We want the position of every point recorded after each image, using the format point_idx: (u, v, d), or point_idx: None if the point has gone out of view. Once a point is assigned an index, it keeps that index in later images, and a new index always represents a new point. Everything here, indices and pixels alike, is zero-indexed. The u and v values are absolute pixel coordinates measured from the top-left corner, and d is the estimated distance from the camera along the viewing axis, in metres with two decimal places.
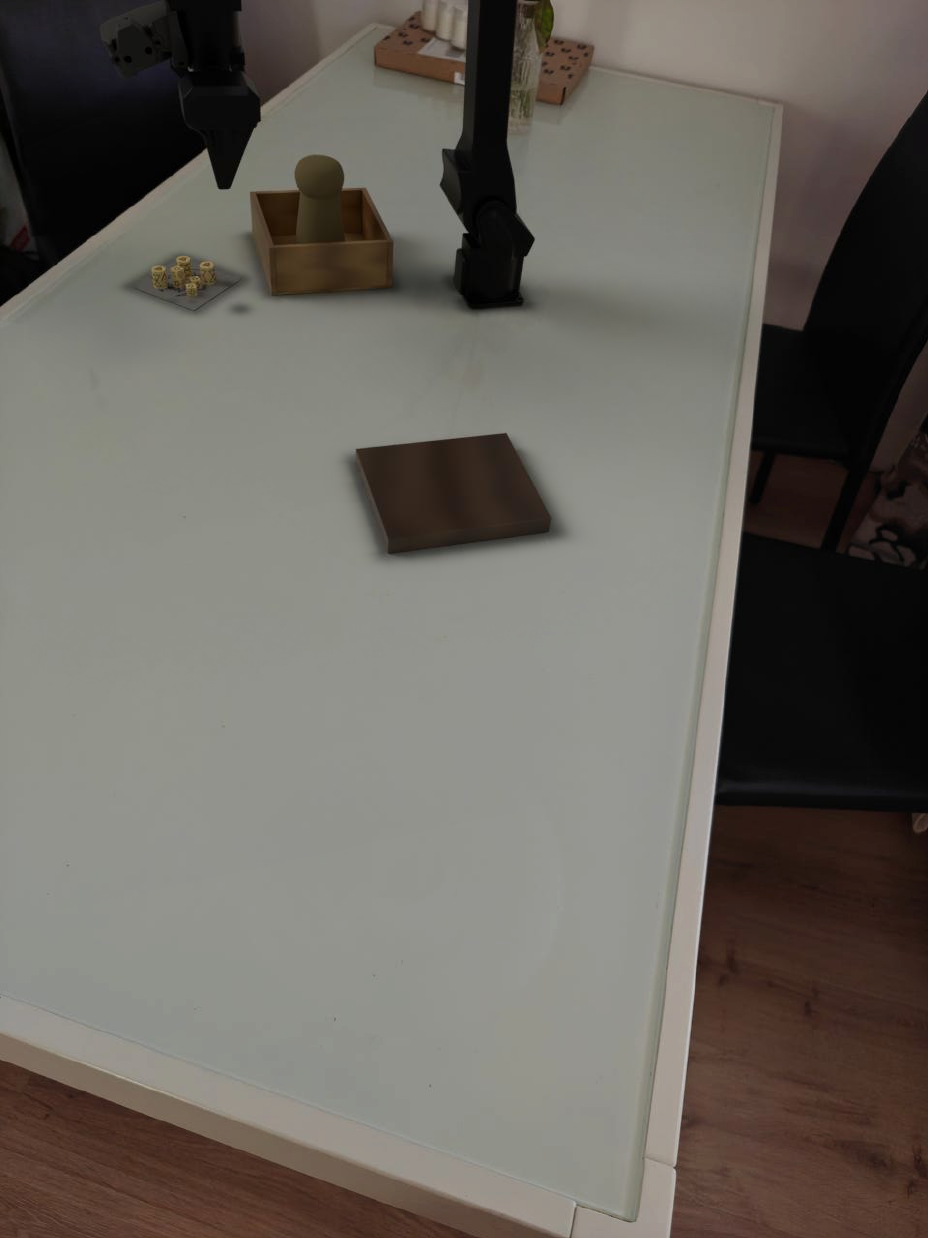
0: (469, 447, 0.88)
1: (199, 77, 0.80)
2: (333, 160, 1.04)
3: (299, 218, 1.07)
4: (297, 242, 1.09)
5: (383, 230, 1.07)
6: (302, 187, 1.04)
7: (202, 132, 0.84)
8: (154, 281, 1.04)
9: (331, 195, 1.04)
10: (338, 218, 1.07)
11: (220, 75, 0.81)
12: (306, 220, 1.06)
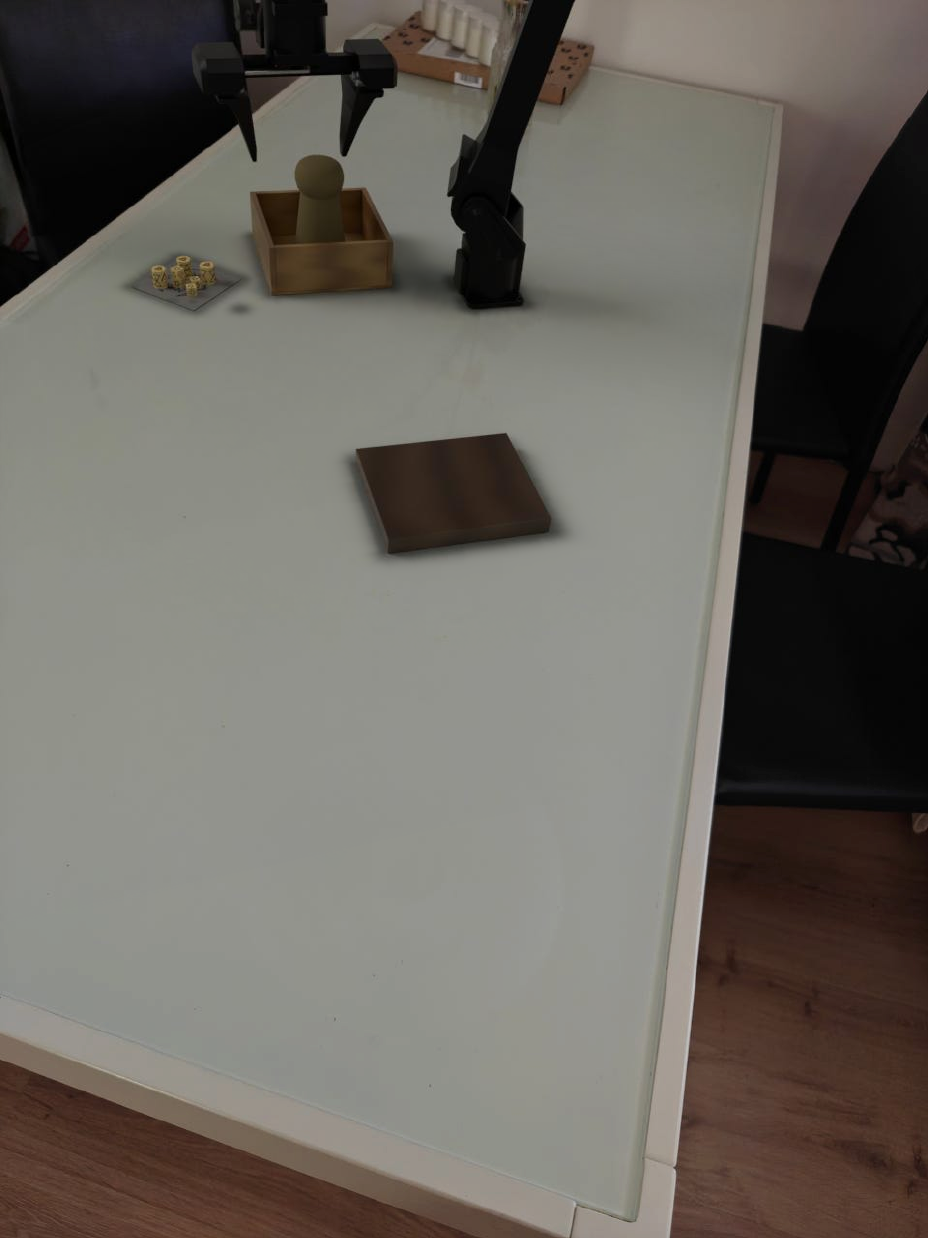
0: (469, 447, 0.88)
1: (219, 44, 0.92)
2: (333, 160, 1.04)
3: (299, 218, 1.07)
4: (297, 242, 1.09)
5: (383, 230, 1.07)
6: (302, 187, 1.04)
7: None
8: (154, 281, 1.04)
9: (330, 195, 1.04)
10: (338, 218, 1.07)
11: (227, 51, 0.91)
12: (306, 220, 1.06)
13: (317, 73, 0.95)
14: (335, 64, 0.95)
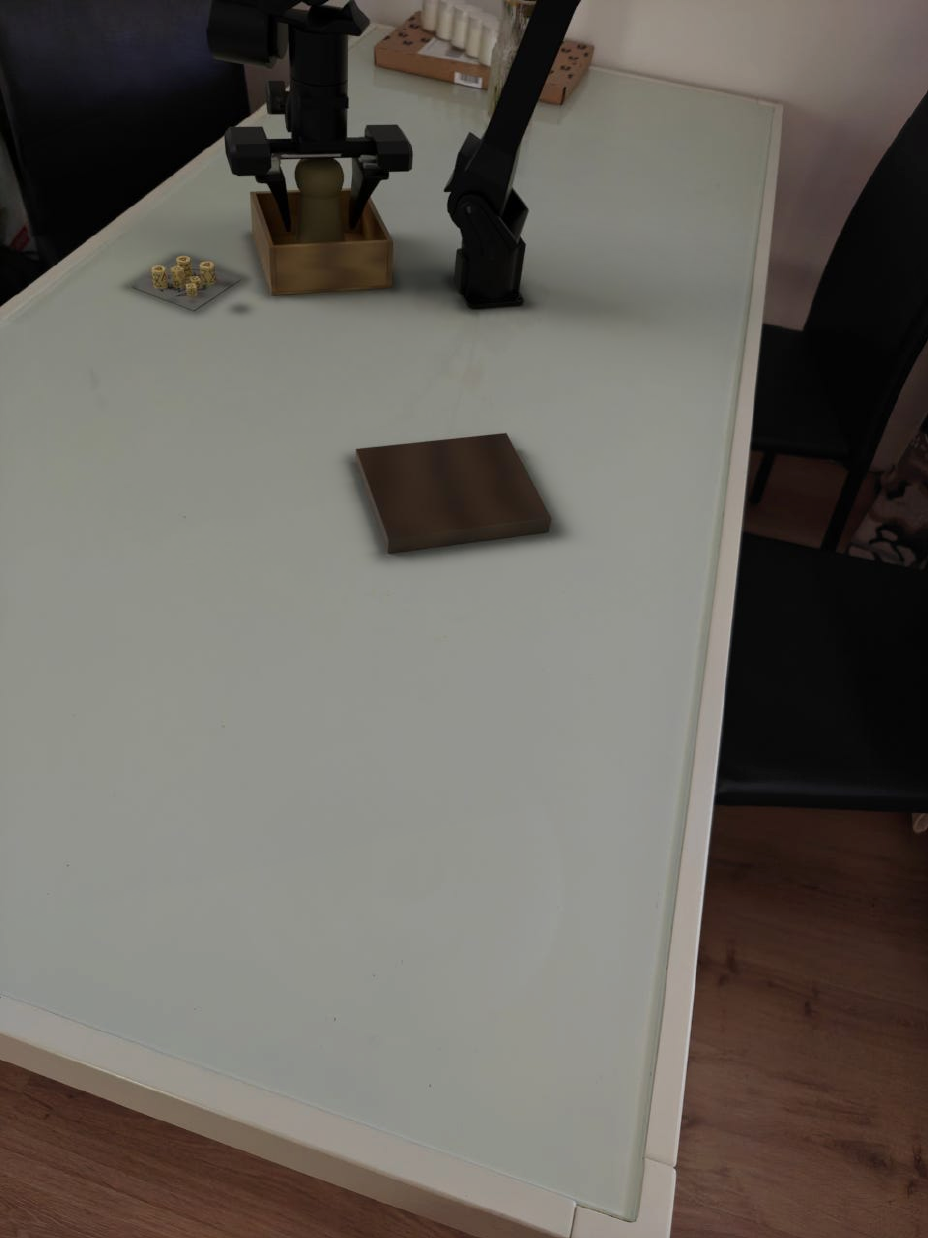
0: (469, 447, 0.88)
1: (249, 129, 1.01)
2: (333, 160, 1.04)
3: (299, 218, 1.07)
4: (297, 242, 1.09)
5: (383, 230, 1.07)
6: (302, 187, 1.04)
7: None
8: (154, 281, 1.04)
9: (330, 195, 1.04)
10: (338, 218, 1.07)
11: (256, 136, 1.00)
12: (306, 220, 1.06)
13: None
14: (355, 148, 1.03)
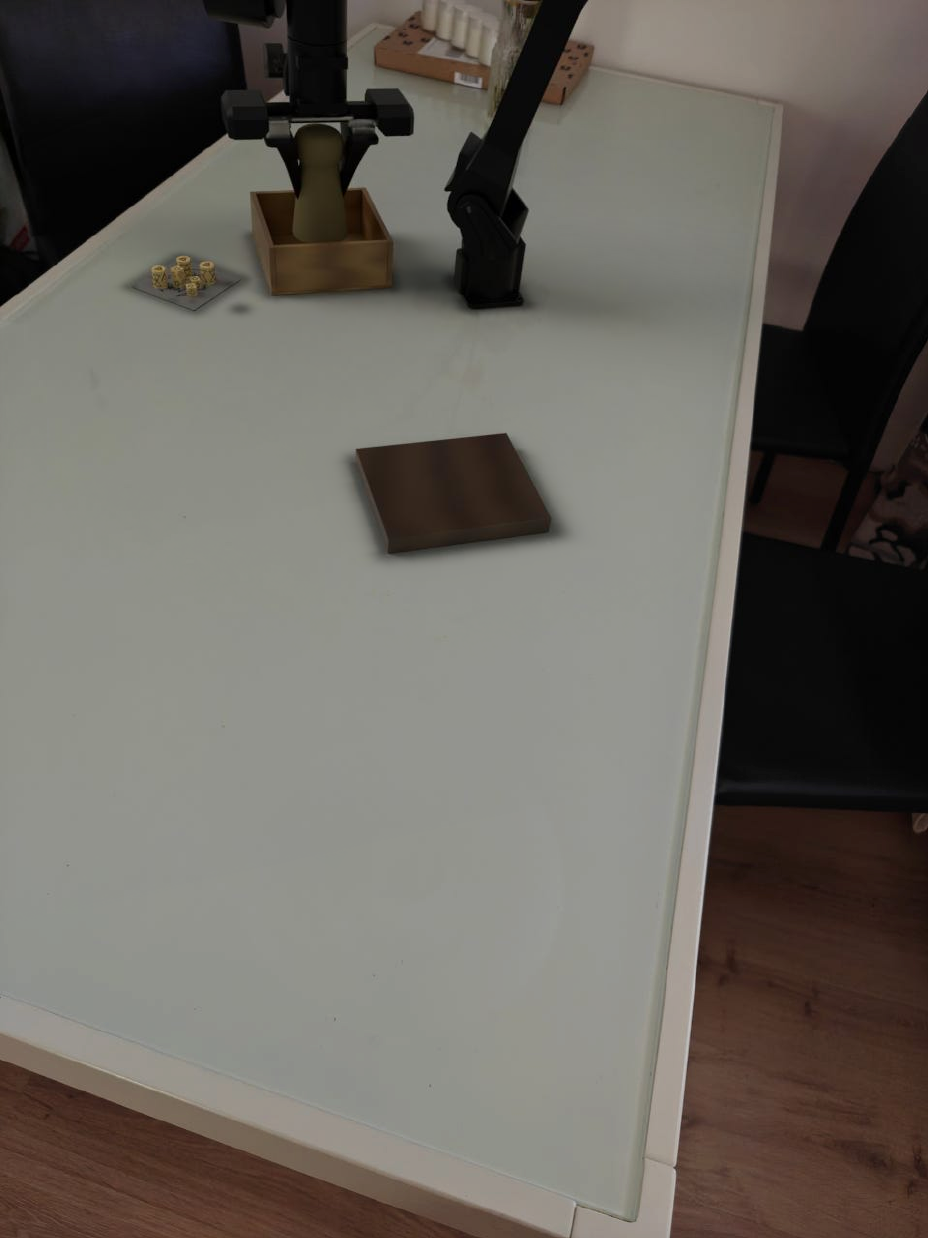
0: (469, 447, 0.88)
1: (246, 92, 0.98)
2: (333, 128, 1.02)
3: None
4: (296, 214, 1.06)
5: (383, 230, 1.07)
6: (301, 156, 1.01)
7: None
8: (154, 281, 1.04)
9: (330, 165, 1.02)
10: (338, 189, 1.05)
11: (253, 99, 0.97)
12: (305, 191, 1.04)
13: (338, 120, 1.01)
14: (355, 112, 1.01)
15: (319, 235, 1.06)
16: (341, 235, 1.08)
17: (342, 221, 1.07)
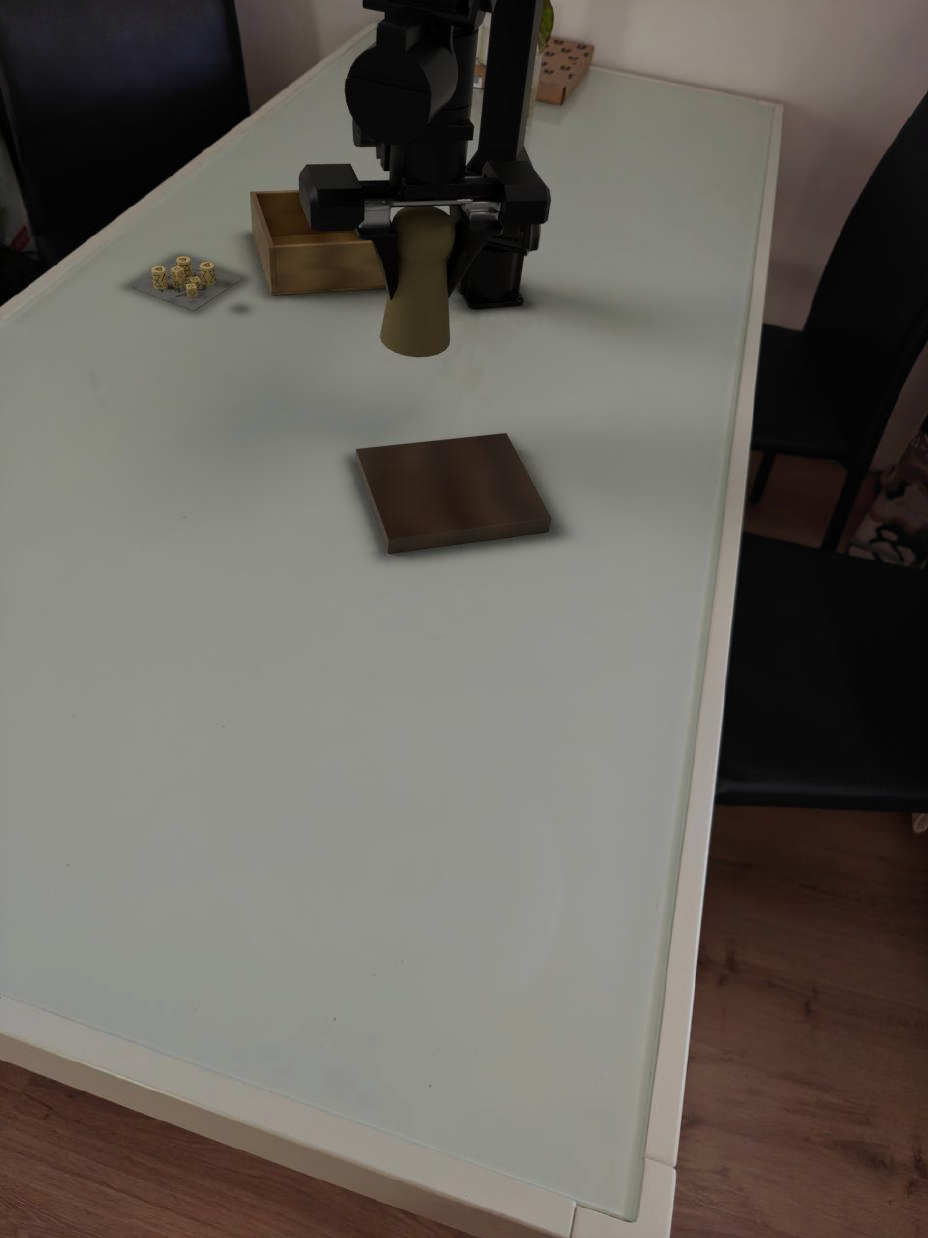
0: (469, 447, 0.88)
1: (333, 167, 0.74)
2: (442, 212, 0.78)
3: None
4: (387, 318, 0.82)
5: None
6: (400, 249, 0.77)
7: None
8: (154, 281, 1.04)
9: (438, 259, 0.78)
10: (444, 288, 0.81)
11: (343, 177, 0.73)
12: (403, 291, 0.80)
13: None
14: (474, 193, 0.77)
15: (417, 345, 0.82)
16: (443, 344, 0.84)
17: (446, 327, 0.83)
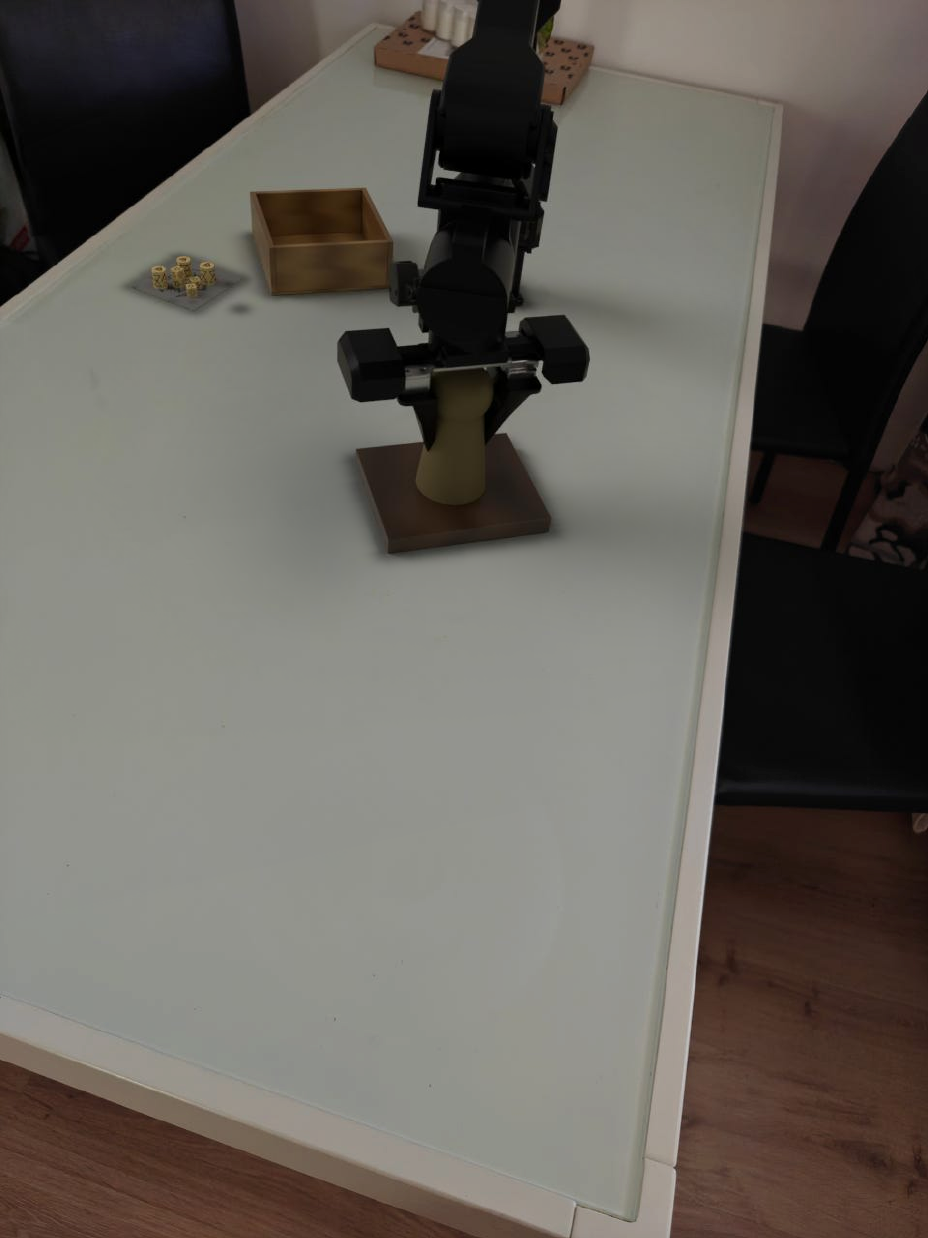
0: None
1: (373, 334, 0.74)
2: (480, 370, 0.77)
3: None
4: (424, 467, 0.82)
5: (383, 230, 1.07)
6: (439, 408, 0.77)
7: None
8: (154, 281, 1.04)
9: (476, 416, 0.78)
10: (482, 439, 0.80)
11: (384, 346, 0.73)
12: (441, 445, 0.79)
13: None
14: (512, 352, 0.76)
15: (454, 494, 0.82)
16: (480, 490, 0.83)
17: (483, 474, 0.83)
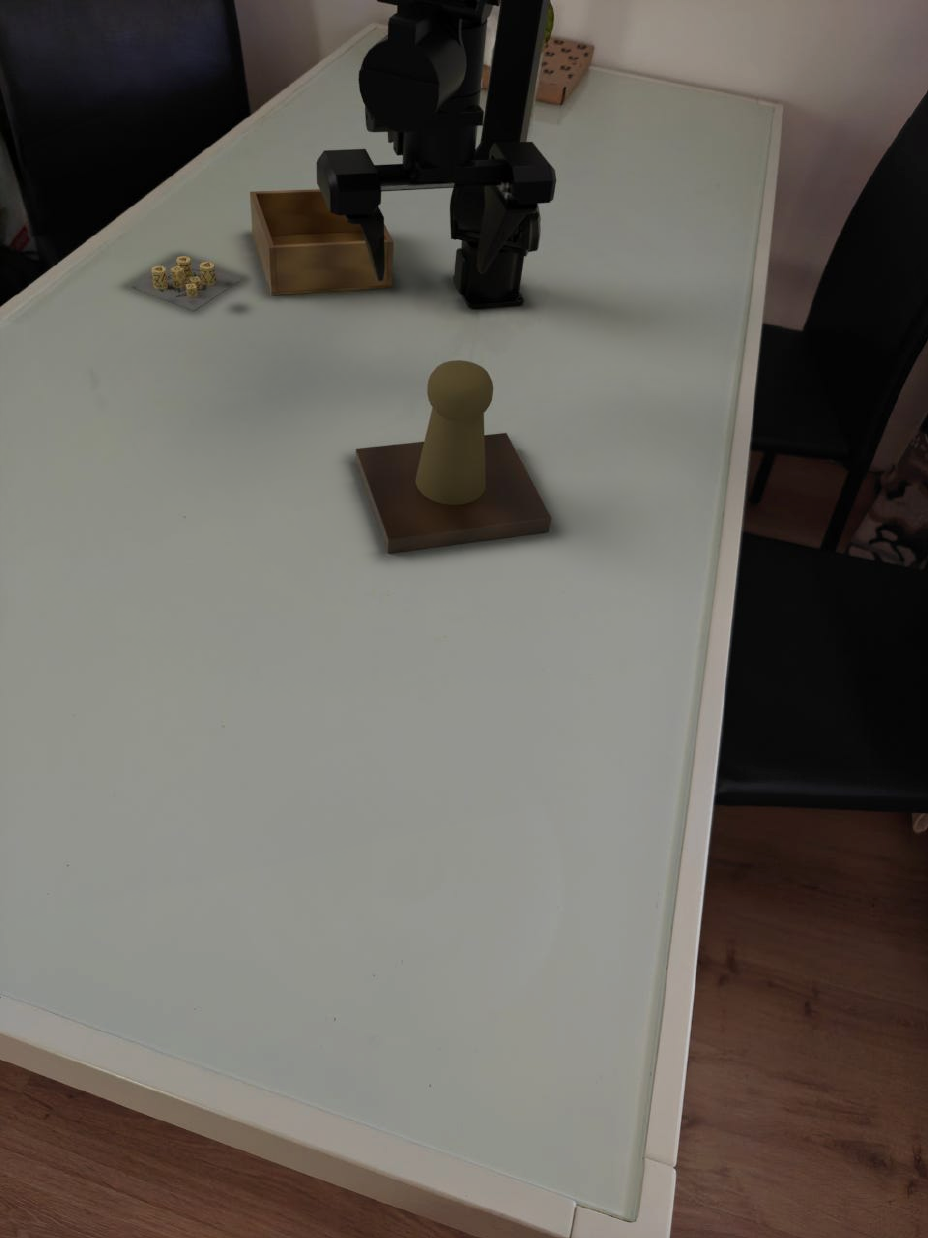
0: None
1: (350, 153, 0.78)
2: (480, 370, 0.77)
3: (429, 440, 0.80)
4: (424, 467, 0.82)
5: None
6: (438, 408, 0.77)
7: None
8: (154, 281, 1.04)
9: (476, 416, 0.78)
10: (481, 439, 0.80)
11: (360, 162, 0.77)
12: (440, 445, 0.79)
13: (461, 184, 0.81)
14: (483, 174, 0.81)
15: (454, 494, 0.82)
16: (480, 490, 0.83)
17: (482, 474, 0.83)
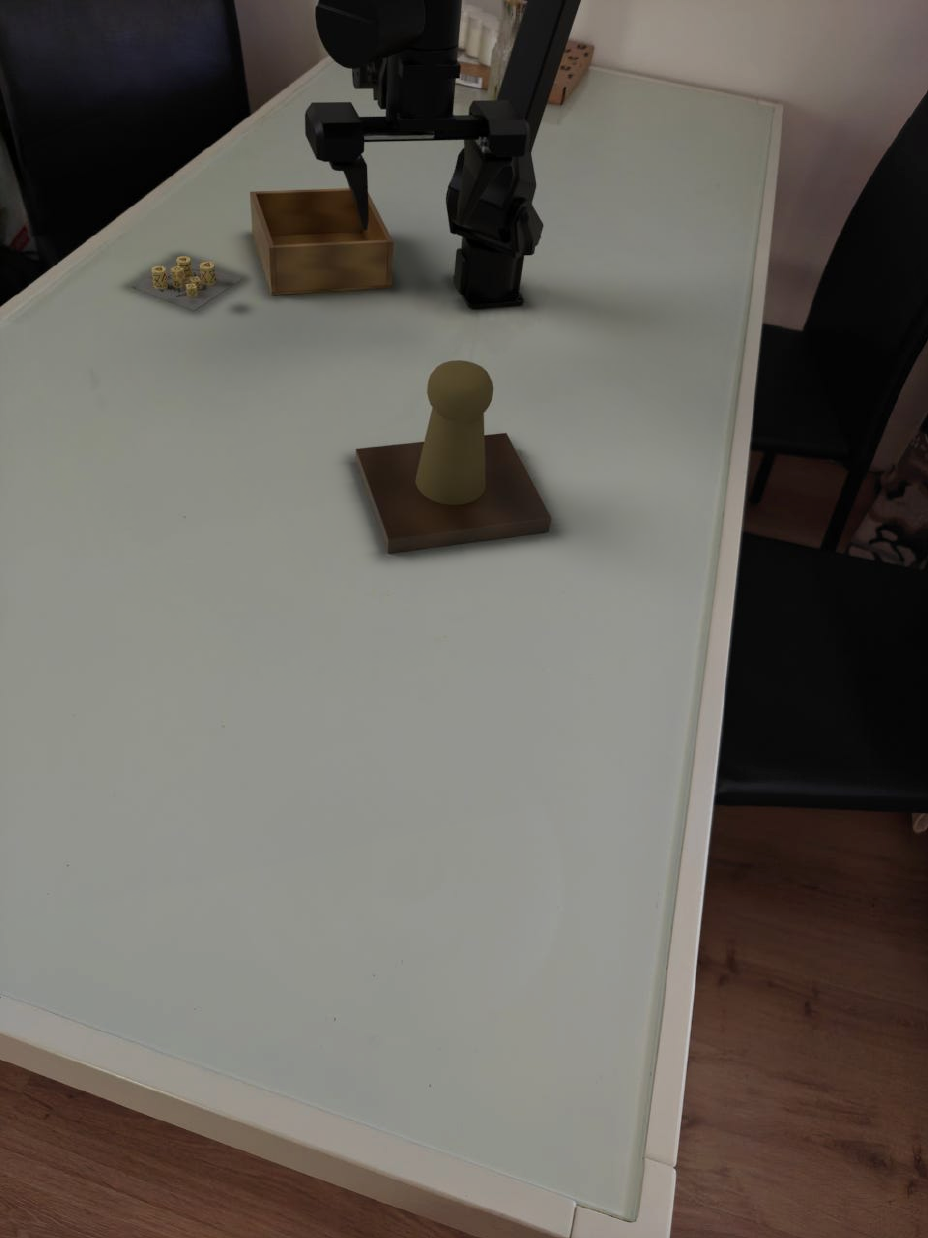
0: None
1: (336, 105, 0.83)
2: (480, 370, 0.77)
3: (429, 440, 0.80)
4: (424, 467, 0.82)
5: (383, 230, 1.07)
6: (438, 408, 0.77)
7: None
8: (154, 281, 1.04)
9: (476, 416, 0.78)
10: (481, 439, 0.80)
11: (345, 113, 0.82)
12: (440, 445, 0.79)
13: (441, 138, 0.86)
14: (461, 128, 0.86)
15: (454, 494, 0.82)
16: (480, 490, 0.83)
17: (482, 474, 0.83)
